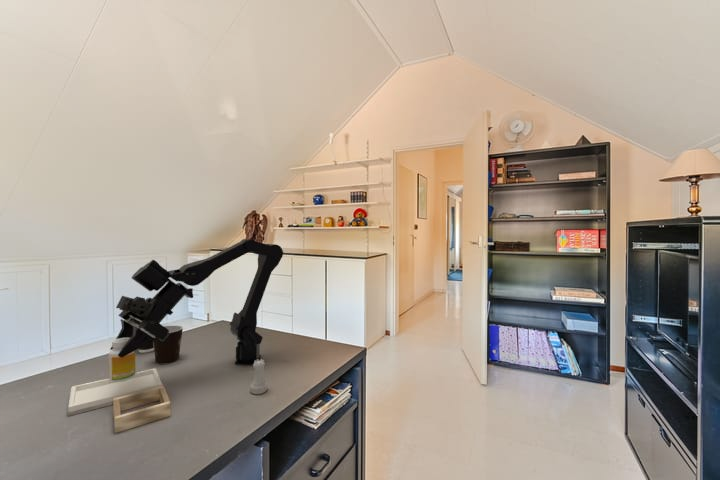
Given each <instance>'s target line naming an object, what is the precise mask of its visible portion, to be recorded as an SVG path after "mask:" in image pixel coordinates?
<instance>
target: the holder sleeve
mask: <svg viewBox="0 0 720 480" xmlns="http://www.w3.org/2000/svg"><path fill="white" fill-rule="evenodd" d="M155 402H159V404H156V405H155V404H154V405H151V406H147V407H144V408H141V409H137V410H134V411H130V412H126V413H123V414H121V412H123V411H126V410H130V409H134V408H138V407H141V406H145V405H149V404H151V403H155ZM112 409H113V410H112V411H113V412H112V413H113V414H112V415H113V425H114V426H113V427H114V434H116V433H117V434H118V433H120V432H123V431H126V430H130V429H133V428H136V427H139V426H142V425H146V424H150V423H151V422H152V423H153V422H155V421H159V420H162V419H166V418H168V417H171V411H172V410H171V401H170V398H169V396H168V394H167V390H166V388H165V386H164V385H162V386H161V387H157V388H153V389H149V390H145V391H141V392H137V393H133V394H129V395H125V396H121V397H117V398H114V399H113V405H112Z"/></svg>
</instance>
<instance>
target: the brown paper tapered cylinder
mask: <svg viewBox="0 0 720 480" xmlns="http://www.w3.org/2000/svg"><path fill="white" fill-rule="evenodd" d="M163 326H164V327H165V328H167V329H168V330H169V335H168V337H167V338H166V339H165V340H164V341H162V340H160V339H158V338H157V337H155V339H156V341H153V346H154V350H153V351H154V360H155V363H156V364H158V365H165V364H166V365H167V364H172V363H174V362H176V361H178V360H179V359H180V351H181V345H182V344H181V343H182V335H183V329H184V328H183V326H182V325H178V324H177V325H163Z"/></svg>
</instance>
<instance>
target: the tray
mask: <svg viewBox="0 0 720 480" xmlns="http://www.w3.org/2000/svg"><path fill="white" fill-rule="evenodd" d="M161 386H163V383H162V381H161V379H160V376H159V373H158V370H157V368H156V367H154V368H150V369H144V370H142V371H135V376H134V377H133V378H131V379H129V380H126V381H123V382H110V381H109V377H108V378H104V379H100V380H95V381H91V382H87V383H82V384H78V385H73V386H71V390H70V393H69V401H68V406H67V407H68V409H67V416H68V417H71V416H73V415H78V414H83V413H85V412H89V411H93V410H97V409H98V410H99V409H100V408H106V407H108V406H113V399H114V398H117V397H121V396H125V395H129V394H133V393H137V392H141V391H145V390H149V389H153V388H157V387H161Z"/></svg>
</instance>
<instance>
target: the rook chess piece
mask: <svg viewBox="0 0 720 480" xmlns="http://www.w3.org/2000/svg"><path fill="white" fill-rule="evenodd" d="M265 366H266V362H265V359H262V358H260V359H258V360H257V361H256V360H255V361H254V364H252V367H253V368H254V370H253V372H254V374H253V380H252V381H251V383H250V389H249V391H250V393H251V394H253V395H262V394H264V393H265V392H266V391H267V390H268V382H267V380H266V379H265Z"/></svg>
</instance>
